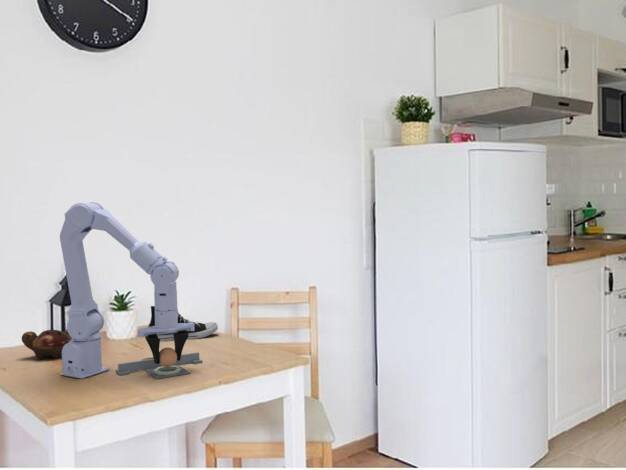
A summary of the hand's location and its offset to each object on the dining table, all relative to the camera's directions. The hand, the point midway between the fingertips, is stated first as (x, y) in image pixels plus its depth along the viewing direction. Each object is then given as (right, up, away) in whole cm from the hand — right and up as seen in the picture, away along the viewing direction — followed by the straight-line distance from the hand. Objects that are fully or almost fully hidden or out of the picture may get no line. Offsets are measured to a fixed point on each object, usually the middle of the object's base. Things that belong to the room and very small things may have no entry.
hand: (167, 361), depth 171 cm
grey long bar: (-3, -3, +5) cm, 7 cm away
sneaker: (-4, -1, +41) cm, 41 cm away
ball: (0, -1, 0) cm, 1 cm away
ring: (-6, -2, +10) cm, 12 cm away
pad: (0, -3, 0) cm, 3 cm away
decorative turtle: (-37, -2, +18) cm, 41 cm away
